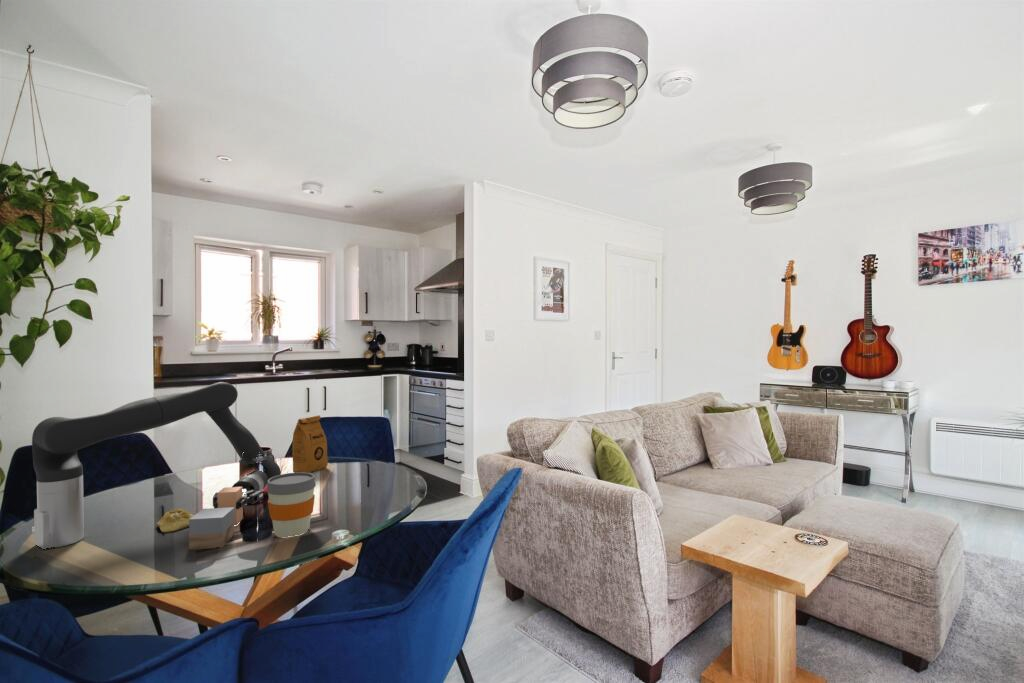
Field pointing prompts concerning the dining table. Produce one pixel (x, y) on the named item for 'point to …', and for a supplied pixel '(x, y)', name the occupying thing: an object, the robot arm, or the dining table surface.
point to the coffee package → (309, 446)
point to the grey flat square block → (212, 521)
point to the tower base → (210, 539)
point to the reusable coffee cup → (291, 502)
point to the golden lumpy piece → (174, 520)
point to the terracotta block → (231, 500)
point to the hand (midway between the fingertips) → (227, 506)
